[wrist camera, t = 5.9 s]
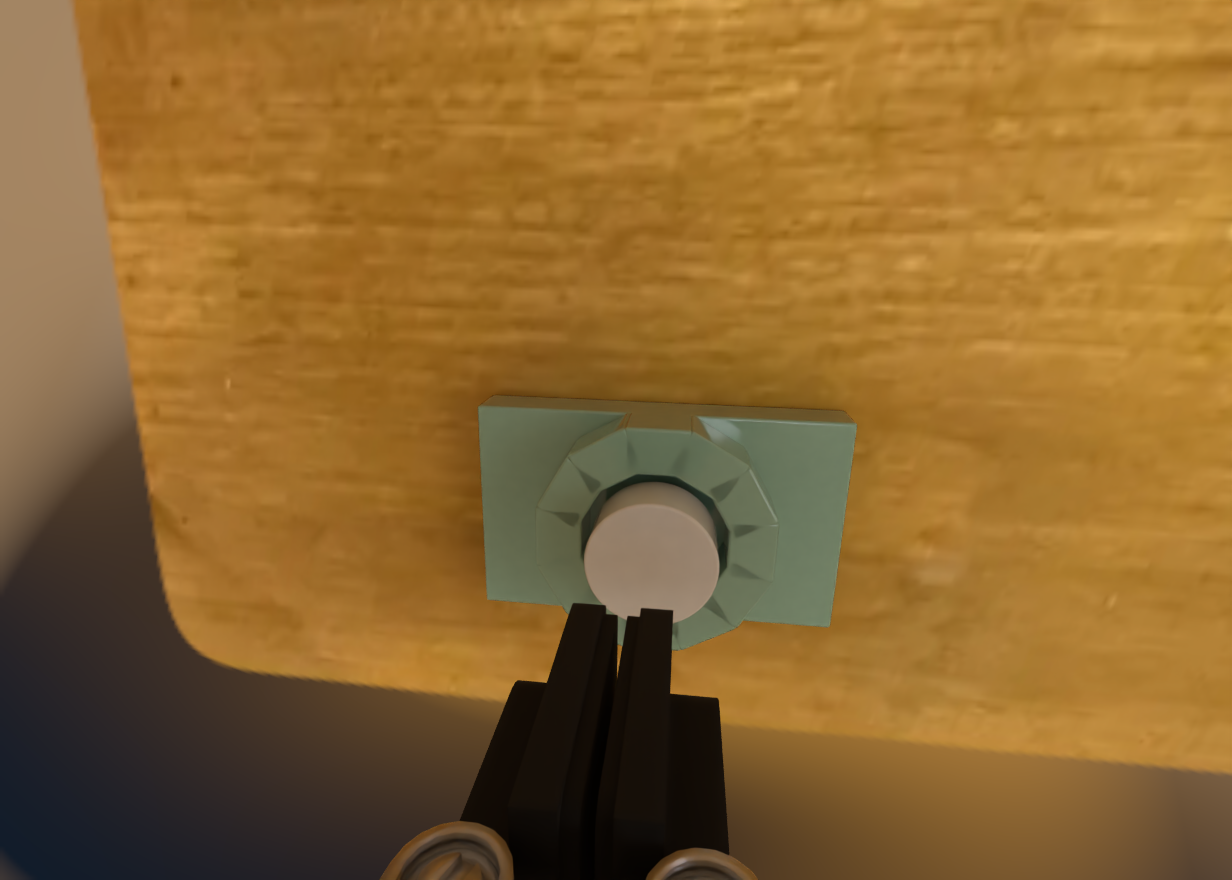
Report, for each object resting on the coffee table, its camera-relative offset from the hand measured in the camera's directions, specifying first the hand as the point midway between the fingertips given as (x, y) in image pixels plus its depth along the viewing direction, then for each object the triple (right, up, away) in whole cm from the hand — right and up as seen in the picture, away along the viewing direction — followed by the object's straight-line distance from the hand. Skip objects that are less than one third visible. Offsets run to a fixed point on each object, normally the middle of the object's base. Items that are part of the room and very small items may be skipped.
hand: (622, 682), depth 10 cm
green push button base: (+1, +2, +8) cm, 9 cm away
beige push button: (+1, +2, +6) cm, 6 cm away
